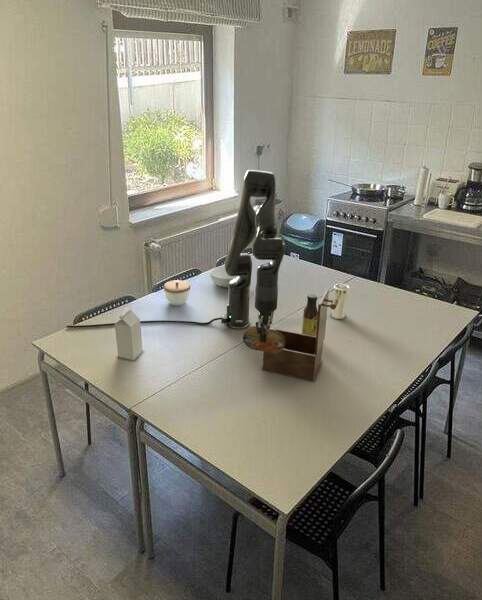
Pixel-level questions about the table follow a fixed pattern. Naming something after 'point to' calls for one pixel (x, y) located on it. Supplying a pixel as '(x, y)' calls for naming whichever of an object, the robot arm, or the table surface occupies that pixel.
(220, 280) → the cereal bowl
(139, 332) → the milk carton
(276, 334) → the tin
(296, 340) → the chest
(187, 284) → the lidded bowl
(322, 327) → the lid
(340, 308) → the milkshake glass
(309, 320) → the sauce bottle
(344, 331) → the table surface
